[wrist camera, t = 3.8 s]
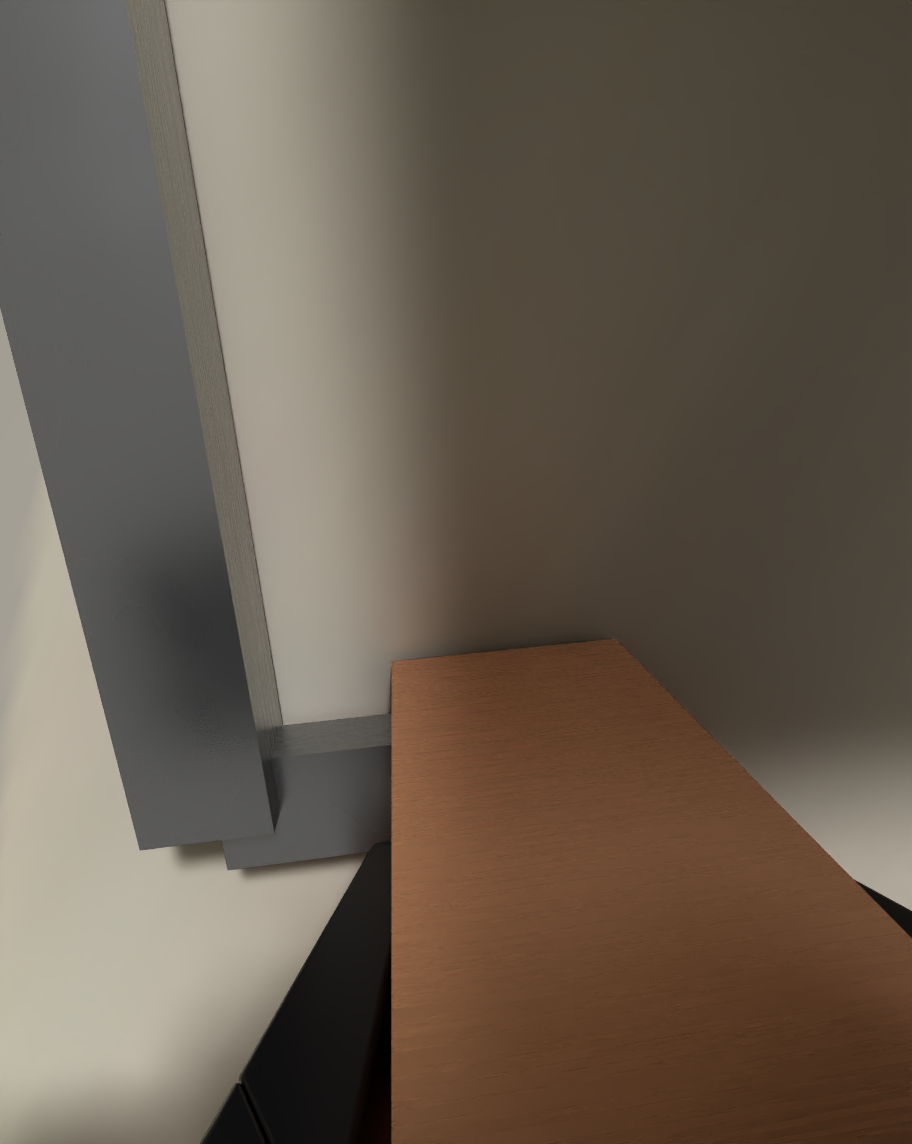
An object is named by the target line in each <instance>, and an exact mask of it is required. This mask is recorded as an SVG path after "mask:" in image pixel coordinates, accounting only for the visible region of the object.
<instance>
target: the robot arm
mask: <svg viewBox="0 0 912 1144" xmlns="http://www.w3.org/2000/svg"><path fill="white" fill-rule="evenodd" d="M855 881H856V880H855ZM856 882H857V883H858V884H859V885H860V886H861V887H862V888H863V889H864V890H865V892H866V893H867V894H868V895H869V896H870V897H871V898H872V899H873V900H874V901H875V902H876V903H877V904H878V905H879V906H880V907H881V908H882V909H883V910H884V911H885V912H886V913H887V914H888V915H889V916H890V917H891V918H892V919H893V920H894V921H895V922H896V923H897V924H898V925H899V926H900V927H901V928H902V929H903V930H904V931H905V932H906V933H907V934H908V935H909V936H910V937H911V938H912V911H911V910H909V909H907V908H905V907H904V906H902V905H900V904H898V903H896V902H894V901H893V900H891V899H889V898H887V897H885V896H883V895H882V894H880V893H878V892H876V891H874V890H872V889H871V888H869V887H867V886H865V885H863V884H861V883H860V882H858V881H856ZM239 1082H240V1083H236V1084H235V1085H234V1086H233V1087H232V1089H231V1091H230V1092H229V1094H228V1096H227V1098H226V1099H225V1101H224V1103H223V1105H222V1106H221V1108H220V1110H219V1112H218V1113H217V1115H216V1117H215V1119H214V1120H213V1122H212V1124H211V1126H210V1127H209V1129H208V1130H207V1132H206V1134H205V1135H204V1137H203V1139H202V1140H201V1142H200V1144H392V1143H391V1142H392V841H384V842H377V843H375V844H374V845H373V846H372V847H371V849H370V851H369V852H368V854H367V856H366V858H365V859H364V861H363V863H362V864H361V866H360V868H359V870H358V871H357V873H356V875H355V877H354V878H353V880H352V882H351V884H350V885H349V887H348V889H347V890H346V892H345V894H344V896H343V897H342V899H341V901H340V903H339V904H338V906H337V908H336V910H335V911H334V913H333V915H332V916H331V918H330V920H329V922H328V923H327V925H326V927H325V929H324V930H323V932H322V934H321V936H320V937H319V939H318V941H317V942H316V944H315V946H314V948H313V949H312V951H311V953H310V955H309V956H308V958H307V960H306V962H305V963H304V965H303V967H302V968H301V970H300V972H299V974H298V975H297V977H296V979H295V981H294V982H293V984H292V986H291V987H290V989H289V991H288V993H287V994H286V996H285V998H284V1000H283V1001H282V1003H281V1005H280V1007H279V1008H278V1010H277V1012H276V1013H275V1015H274V1017H273V1019H272V1020H271V1022H270V1024H269V1026H268V1027H267V1029H266V1031H265V1033H264V1034H263V1036H262V1038H261V1039H260V1041H259V1043H258V1045H257V1046H256V1048H255V1050H254V1052H253V1053H252V1055H251V1057H250V1059H249V1060H248V1062H247V1064H246V1065H245V1067H244V1069H243V1071H242V1072H241V1074H240V1076H239Z"/></svg>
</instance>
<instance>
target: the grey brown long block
mask: <svg viewBox="0 0 912 1144" xmlns="http://www.w3.org/2000/svg"><path fill="white" fill-rule="evenodd" d="M0 308H1V312H2V316H3V320H4V324H5V328H6V332H7V336H8V340H9V343H10V347H11V351H12V355H13V359H14V363H15V367H16V371H17V374H18V378H19V382H20V386H21V390H22V394H23V398H24V402H25V406H26V409H27V413H28V417H29V421H30V425H31V429H32V433H33V437H34V441H35V444H36V448H37V452H38V456H39V460H40V464H41V468H42V472H43V476H44V479H45V483H46V487H47V491H48V495H49V499H50V503H51V507H52V511H53V514H54V518H55V522H56V526H57V530H58V534H59V538H60V542H61V545H62V549H63V553H64V557H65V561H66V565H67V569H68V573H69V577H70V580H71V584H72V588H73V592H74V596H75V600H76V604H77V608H78V612H79V615H80V619H81V623H82V627H83V631H84V635H85V639H86V643H87V647H88V650H89V654H90V658H91V662H92V666H93V670H94V674H95V678H96V682H97V685H98V689H99V693H100V697H101V701H102V705H103V709H104V713H105V716H106V720H107V724H108V728H109V732H110V736H111V740H112V744H113V748H114V751H115V755H116V759H117V763H118V767H119V771H120V775H121V779H122V783H123V786H124V790H125V794H126V798H127V802H128V806H129V810H130V814H131V818H132V821H133V825H134V829H135V833H136V837H137V841H138V845H139V849H140V850H147V849H155V848H163V847H171V846H179V845H187V844H195V843H203V842H211V841H218V840H222V845H223V849H224V854H225V859H226V864H227V869H228V870H234V869H242V868H249V867H257V866H265V865H272V864H280V863H288V862H295V861H303V860H310V859H318V858H326V857H333V856H341V855H349V854H356V853H364V852H369V851H370V849H371V847H372V846H373V845H374V844H375V843H377V842H384V841H392V1142H391V1143H392V1144H912V938H911V937H910V936H909V935H908V934H907V933H906V932H905V931H904V930H903V929H902V928H901V927H900V926H899V925H898V924H897V923H896V922H895V921H894V920H893V919H892V918H891V917H890V916H889V915H888V914H887V913H886V912H885V911H884V910H883V909H882V908H881V907H880V906H879V905H878V904H877V903H876V902H875V901H874V900H873V899H872V898H871V897H870V896H869V895H868V894H867V893H866V892H865V890H864V889H863V888H862V887H861V886H860V885H859V884H858V883H857V882H856V881H855V880H854V879H853V878H852V877H851V876H850V875H849V874H848V873H847V872H846V871H845V870H844V869H843V868H842V867H841V866H840V865H839V864H838V863H837V862H836V861H835V860H834V859H833V858H832V857H831V856H830V855H829V854H828V853H827V852H826V851H825V850H824V849H823V848H822V847H821V846H820V845H819V844H818V843H817V842H816V841H815V840H814V839H813V838H812V837H811V836H810V835H809V834H808V833H807V832H806V831H805V830H804V829H803V828H802V827H801V826H800V825H799V824H798V823H797V822H796V821H795V820H794V819H793V818H792V817H791V816H790V815H789V814H788V813H787V812H786V811H785V810H784V809H783V808H782V807H781V806H780V805H779V804H778V803H777V802H776V801H775V800H774V799H773V798H772V797H771V796H770V795H769V794H768V793H767V792H766V791H765V790H764V789H763V788H762V787H761V786H760V785H759V784H758V783H757V781H756V780H755V779H754V778H753V777H752V776H751V775H750V774H749V773H748V772H747V771H746V770H745V769H744V768H743V767H742V766H741V765H740V764H739V763H738V762H737V761H736V760H735V759H734V758H733V757H732V756H731V755H730V754H729V753H728V752H727V751H726V750H725V749H724V748H723V747H722V746H721V745H720V744H719V743H718V742H717V741H716V740H715V739H714V738H713V737H712V736H711V735H710V734H709V733H708V732H707V731H706V730H705V729H704V728H703V727H702V726H701V725H700V724H699V723H698V722H697V721H696V720H695V719H694V718H693V717H692V716H691V715H690V714H689V713H688V712H687V711H686V710H685V709H684V708H683V707H682V706H681V705H680V704H679V703H678V702H677V701H676V700H675V699H674V698H673V697H672V696H671V695H670V694H669V693H668V692H667V691H666V690H665V689H664V688H663V687H662V686H661V685H660V684H659V683H658V682H657V681H656V680H655V679H654V678H653V677H652V676H651V675H650V674H649V672H648V671H647V670H646V669H645V668H644V667H643V666H642V665H641V664H640V663H639V662H638V661H637V660H636V659H635V658H634V657H633V656H632V655H631V654H630V653H629V652H628V651H627V650H626V649H625V648H624V647H623V646H622V645H621V644H620V643H619V642H618V641H617V640H616V639H606V640H596V641H586V642H577V643H567V644H557V645H548V646H538V647H528V648H518V649H509V650H499V651H489V652H479V653H470V654H460V655H450V656H440V657H431V658H421V659H411V660H402V661H392V714H383V715H374V716H365V717H356V718H347V719H338V720H329V721H320V722H311V723H302V724H293V725H284V726H283V725H282V719H281V713H280V707H279V701H278V695H277V689H276V683H275V677H274V670H273V664H272V658H271V652H270V646H269V640H268V634H267V628H266V622H265V615H264V609H263V603H262V597H261V591H260V585H259V579H258V573H257V567H256V560H255V554H254V548H253V542H252V536H251V530H250V524H249V518H248V512H247V505H246V499H245V493H244V487H243V481H242V475H241V469H240V463H239V457H238V450H237V444H236V438H235V432H234V426H233V420H232V414H231V408H230V402H229V396H228V389H227V383H226V377H225V371H224V365H223V359H222V353H221V347H220V341H219V334H218V328H217V322H216V316H215V310H214V304H213V298H212V292H211V286H210V279H209V273H208V267H207V261H206V255H205V249H204V243H203V237H202V231H201V224H200V218H199V212H198V206H197V200H196V194H195V188H194V182H193V176H192V169H191V163H190V157H189V151H188V145H187V139H186V133H185V127H184V121H183V114H182V108H181V102H180V96H179V90H178V84H177V78H176V72H175V66H174V59H173V53H172V47H171V41H170V35H169V29H168V23H167V17H166V11H165V4H164V0H0Z"/></svg>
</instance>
